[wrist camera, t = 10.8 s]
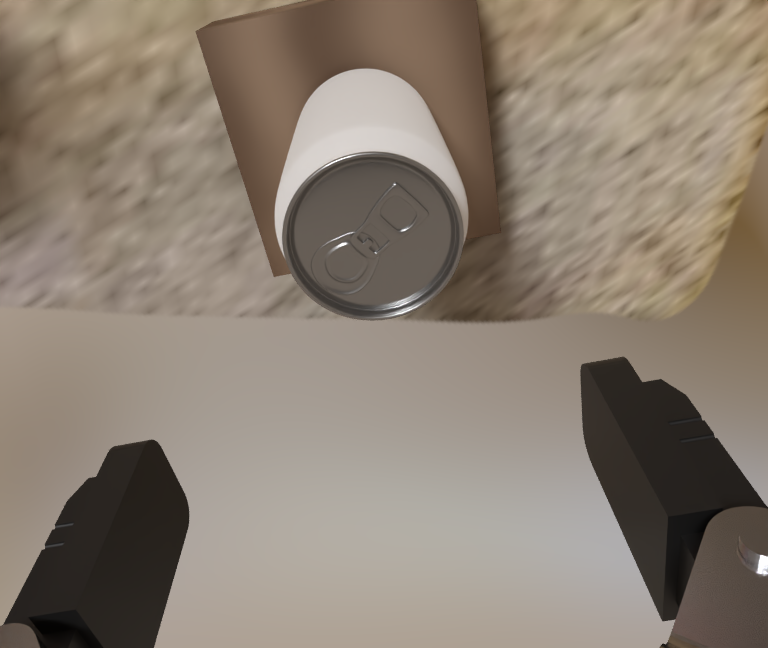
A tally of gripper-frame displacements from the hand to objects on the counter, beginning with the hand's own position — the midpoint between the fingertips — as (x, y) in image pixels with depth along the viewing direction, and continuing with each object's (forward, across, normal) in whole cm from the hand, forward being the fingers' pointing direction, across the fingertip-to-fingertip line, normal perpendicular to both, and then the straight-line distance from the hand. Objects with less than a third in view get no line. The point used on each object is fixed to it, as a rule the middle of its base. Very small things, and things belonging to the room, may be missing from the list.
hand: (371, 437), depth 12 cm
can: (+21, 0, 0) cm, 21 cm away
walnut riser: (+25, 0, 0) cm, 25 cm away
